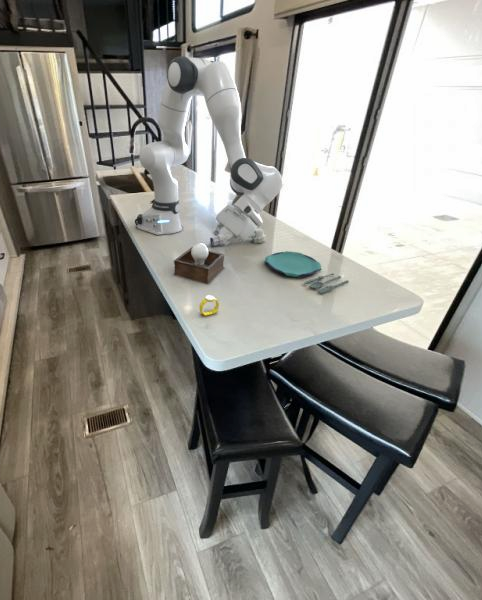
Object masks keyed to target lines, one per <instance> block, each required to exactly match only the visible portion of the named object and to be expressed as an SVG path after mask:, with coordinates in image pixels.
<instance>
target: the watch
mask: <svg viewBox="0 0 482 600" xmlns="http://www.w3.org/2000/svg"><path fill="white" fill-rule="evenodd" d="M214 301H215V305H214V308H213V309H212V310H210V311H203V308H204V306H205V304H207V303H208V302H210V303H213V302H214ZM219 307H220V302H219V301H218V299H217V298H216V297H215V296H214V295H212V294H208V295H205V297H204V299H203V300H201V302H200V303H199V307H198V309H199V312H200V313H201V314H202V315H203V316H210V315H214V314H216V312H218V309H219Z"/></svg>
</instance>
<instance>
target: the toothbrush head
mask: <svg viewBox="0 0 482 600" xmlns="http://www.w3.org/2000/svg"><path fill="white" fill-rule="evenodd" d="M231 234H232V233H227V234H221V235H219V234H218V235H217V236H215V235H214V236H211V237H210V238H209V241H210V246H211V247H213V248H214V247H217V246H219V247H221V245H225V244H224V243H223V240H224V239H225V238H226V239H227V238H228V237H230V235H231ZM266 237H267V235H266V233H264V229H263V228H262V227H257V228H256V230H255V231H254V232H253V233H252V234H251V235H250V236H249V237H248V238H247V239H246V240H248V239H251V241H252V243H253V244H262V243H263V242H265V239H266ZM238 241H241V240H240V239H238V238H237V239H236V240H235V241H233V242H232V243H234V242H238Z"/></svg>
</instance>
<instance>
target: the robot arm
mask: <svg viewBox="0 0 482 600" xmlns="http://www.w3.org/2000/svg"><path fill="white" fill-rule="evenodd" d="M166 77H167V79H166V82H165V84H164V88H163V91H162V95H161V101H160V106H159V110H158V111H159V112H158V117H157V125H158V127H159V129H160V130H161V131H162V140H161V141H160V140H159V141H153V142H150V143H147V144H145V145H143V146H142V147H141V148H140V149H139V154H138V155H139V157H138V158H139V162H140V165H141V166H142V167H143V169H145V170H146V171H147V172H148V173H149V175H150V178H151V181H152V185H153V193H154V198H153V199H152V200H150V201H149V204H150V205H151V207H150V208H149V209H147V210H146V211H145V212H143V213H139V214H137V217H136V218H135V219H134V225H135V226H136V228H137V229H139V230H142V231H145V232H146V233H147V232H148V233H151V234H153V235H156V236H160V235H169V234H170V235H171V234H175V233H178V232H181V231H182V230H183V227H182V222H181V217H180V199H179V183H178V180H177V179H175V178H174V177H173V176H172V173H171V168H176V167H179V166H181V165H183V164H184V163H186V162H187V161H188V158H189V156H190V150H189V147H188V145H187V143H186V140H185V129H186V128H185V127H186V123H187V119H188V113H189V109H190V104H191V101H192V99H193V97H200V96H201V97H204V101H205V104H206V108H207V111H208V113H209V116H210V119H211V121H212V123H213V125H214V127H215V129H216V131H217V133H218V135H219V137H220V139H221V142H222V144H223V146H224V150H225V154H226V158H227V161H228V164H229V169H230V173H229V174H230V175H229V186H230V189H231V191H233V193H235V194H236V195H242V196H241V197H240V198H239V200H238V201H237V202H236V203H233V204H232V203H229V204H227V205H226V206H224V208H222V210H220V211H219V212H218V213H217V215H216V216H215V220H216V221H217V223H216V225H215V228H214V229H213V230H212V232H211V234H213V235H214V237H215V236H218V235H219V234H220V231H221V230H222V229H223V228H225V229H226V230H228V231H229V232H230V234H231V235H230V237H228V238H227V239H226V238H225V239H224V240H223V243H224V244H223V245H225V246H226V247H227V246H228V245H230V244H231V243H234V242H233V241H235V240H236V239H237V238H238V239H240V240H239V241H240V242H244V241H247V240H248V239H249V238H248V237H249V236H250V235H251V234H252V233H253V232H254V231H255V230H256V228H258V227H261V225H262V224H263V219H262V217H261V216H260V214H261V213H262V212H263V210H264V208H265V207H266V206H267V205H268V204H270V203H271V202H272V201H273V200H274V199H275V198H276V197H277V195H278V194H279V193H280V191H281V190H282V188H283V186H284V177H283V176H282V174H281V172H280V171H279V170H278V169H277V168H276V166H275V167H274V166H269V165H268V166H267V165H264V164H260V163H258V162H256V161H254V160H253V159H251V158H249V157H246V154H245V150H244V146H243V143H242V137H241V136H242V135H241V125H242V106H241V99H240V94H239V92H238V89H237V85H236V82H235V79H234V77H233V75H232V73H231V70H230V68H229V67H228V65H227V64H226V63H225V62H224V61H220V60H215V61H214V60H208V59H206V58H201V57H187V56H184V55H181V56H175V57H173V59H171V61H170V62H169V64H168V67H167V71H166ZM247 238H248V239H247ZM235 242H236V241H235Z"/></svg>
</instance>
